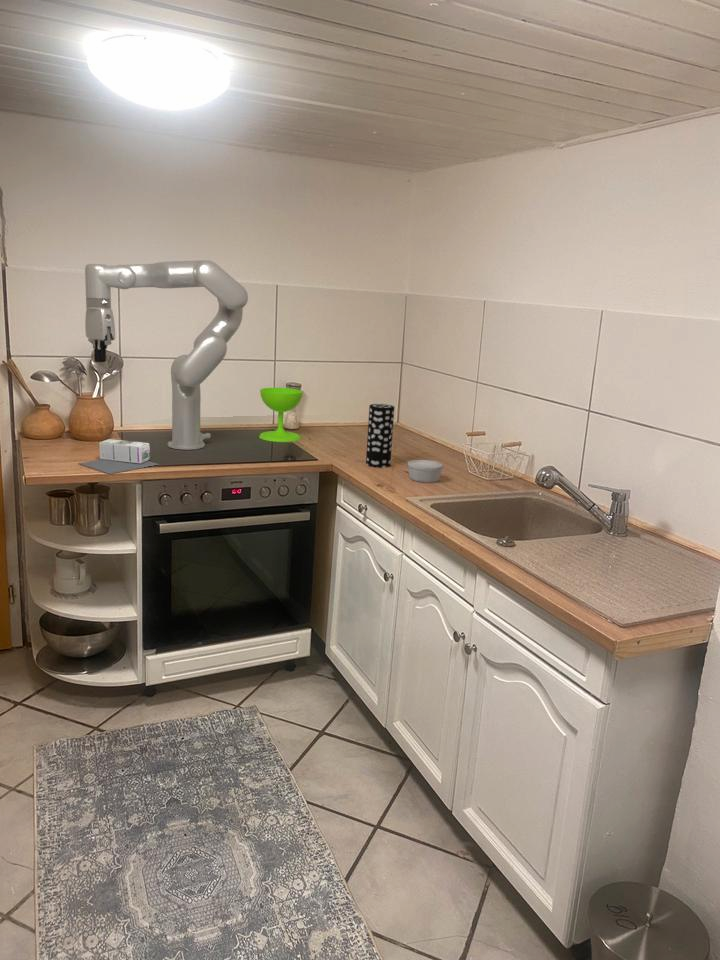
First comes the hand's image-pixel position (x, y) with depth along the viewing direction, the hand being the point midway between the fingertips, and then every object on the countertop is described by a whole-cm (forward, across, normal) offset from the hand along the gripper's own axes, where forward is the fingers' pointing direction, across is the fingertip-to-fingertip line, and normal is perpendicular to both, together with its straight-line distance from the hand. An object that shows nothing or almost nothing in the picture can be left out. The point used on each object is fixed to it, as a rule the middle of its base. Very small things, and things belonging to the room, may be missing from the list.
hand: (100, 361), depth 244 cm
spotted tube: (+29, -74, -55) cm, 97 cm away
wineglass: (+29, -24, -62) cm, 72 cm away
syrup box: (+26, -12, +8) cm, 30 cm away
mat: (+29, -22, +9) cm, 37 cm away
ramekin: (+30, -95, -51) cm, 112 cm away
